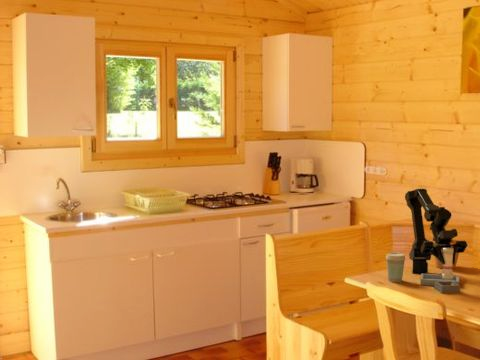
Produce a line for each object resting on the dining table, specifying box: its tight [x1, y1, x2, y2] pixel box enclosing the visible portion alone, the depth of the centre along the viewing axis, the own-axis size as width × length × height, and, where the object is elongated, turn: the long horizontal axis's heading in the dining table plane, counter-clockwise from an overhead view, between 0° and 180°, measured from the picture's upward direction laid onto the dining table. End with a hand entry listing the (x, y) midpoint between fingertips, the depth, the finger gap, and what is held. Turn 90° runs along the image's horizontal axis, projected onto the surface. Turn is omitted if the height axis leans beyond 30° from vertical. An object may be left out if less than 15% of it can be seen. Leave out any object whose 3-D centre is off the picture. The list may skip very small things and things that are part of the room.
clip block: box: [433, 281, 461, 294], centre depth 281 cm, size 8×8×3 cm
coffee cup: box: [385, 252, 406, 283], centre depth 298 cm, size 8×8×12 cm
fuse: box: [441, 247, 454, 280], centre depth 280 cm, size 4×4×13 cm
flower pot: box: [430, 238, 461, 269], centre depth 324 cm, size 14×14×13 cm
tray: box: [419, 273, 460, 287], centre depth 294 cm, size 16×11×2 cm
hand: (449, 263), depth 279 cm, fingers closed on fuse, 4 cm apart
